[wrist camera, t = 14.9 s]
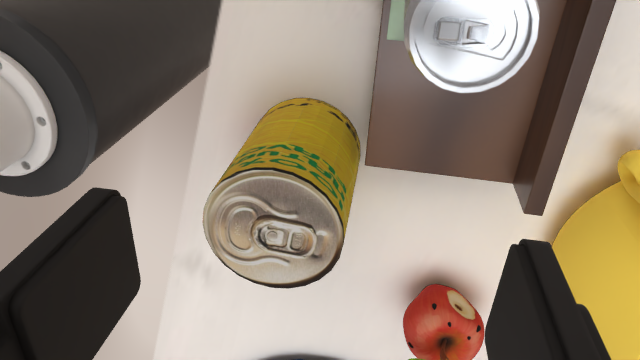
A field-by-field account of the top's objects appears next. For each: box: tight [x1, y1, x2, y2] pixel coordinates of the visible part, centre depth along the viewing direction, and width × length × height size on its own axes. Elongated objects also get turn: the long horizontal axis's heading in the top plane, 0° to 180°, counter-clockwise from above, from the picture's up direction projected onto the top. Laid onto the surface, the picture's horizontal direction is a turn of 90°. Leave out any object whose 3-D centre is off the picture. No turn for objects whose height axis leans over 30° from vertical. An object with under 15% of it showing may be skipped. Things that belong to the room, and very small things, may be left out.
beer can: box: [404, 0, 540, 93], centre depth 24 cm, size 5×5×12 cm
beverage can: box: [203, 98, 360, 288], centre depth 35 cm, size 9×9×12 cm
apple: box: [403, 284, 484, 360], centre depth 42 cm, size 8×7×10 cm
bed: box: [365, 0, 616, 216], centre depth 31 cm, size 12×20×8 cm, turn 177°
